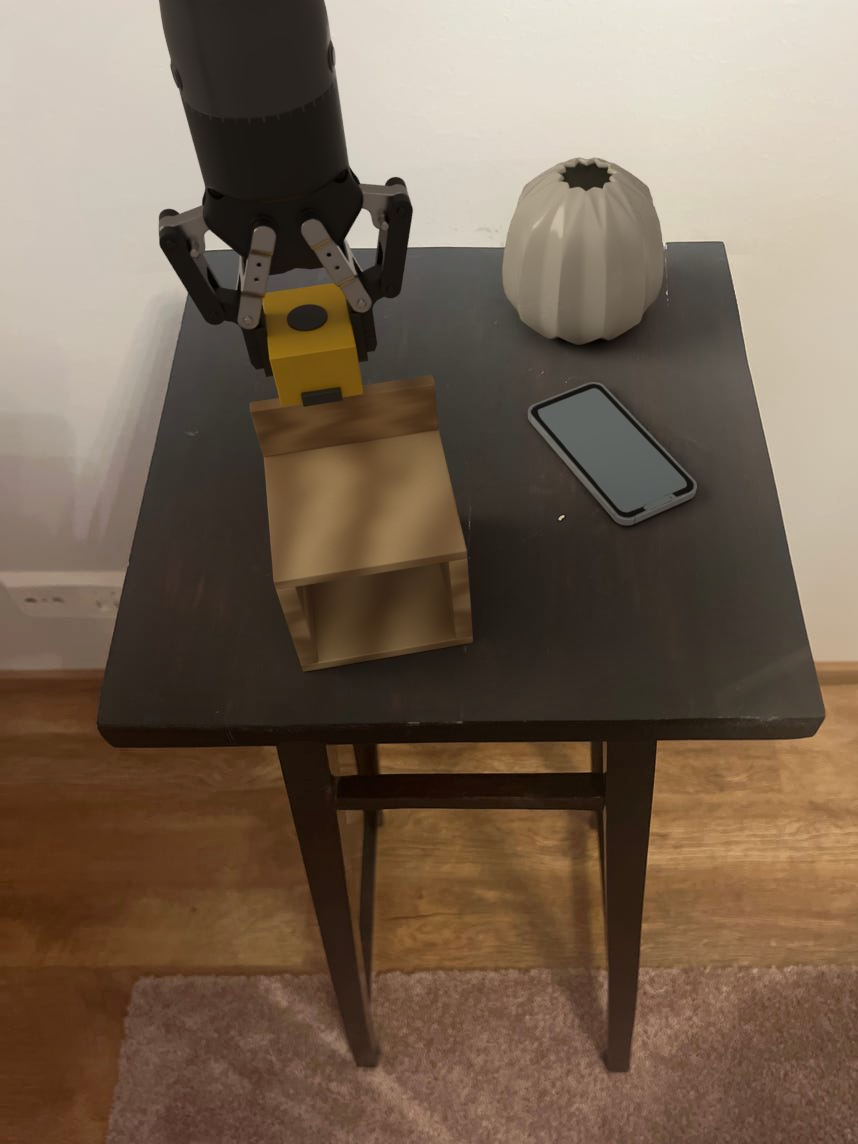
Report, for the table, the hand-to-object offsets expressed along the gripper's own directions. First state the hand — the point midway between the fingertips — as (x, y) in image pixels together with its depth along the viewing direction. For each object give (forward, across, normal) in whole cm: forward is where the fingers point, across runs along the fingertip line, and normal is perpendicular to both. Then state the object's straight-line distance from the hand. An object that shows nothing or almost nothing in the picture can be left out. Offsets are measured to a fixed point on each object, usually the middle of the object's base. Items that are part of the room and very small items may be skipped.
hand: (315, 359), depth 60 cm
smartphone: (+17, -21, -5) cm, 28 cm away
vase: (+17, -24, -22) cm, 37 cm away
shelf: (+17, -1, +5) cm, 18 cm away
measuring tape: (+1, 0, 0) cm, 1 cm away
